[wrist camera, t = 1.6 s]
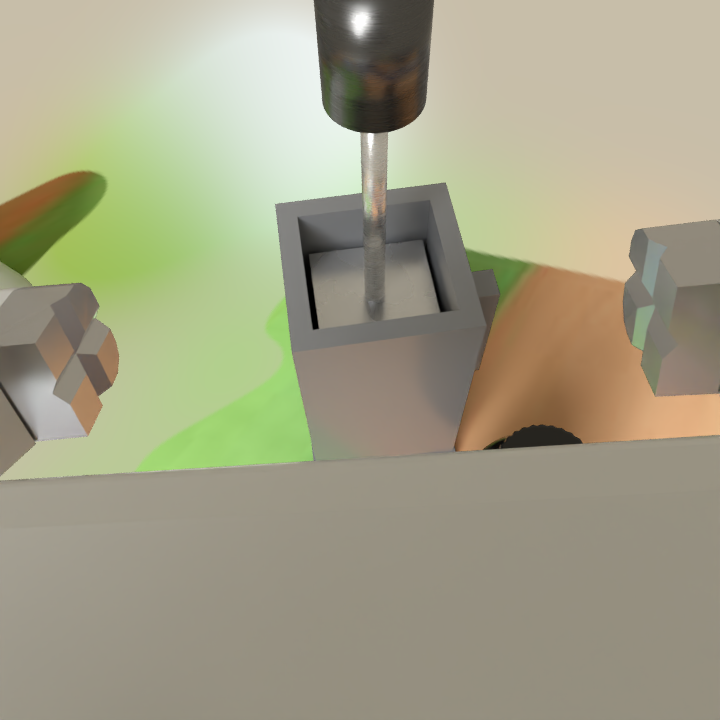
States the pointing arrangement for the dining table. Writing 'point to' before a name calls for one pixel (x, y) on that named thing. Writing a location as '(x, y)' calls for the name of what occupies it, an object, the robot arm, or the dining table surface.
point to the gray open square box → (385, 331)
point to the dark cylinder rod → (373, 152)
